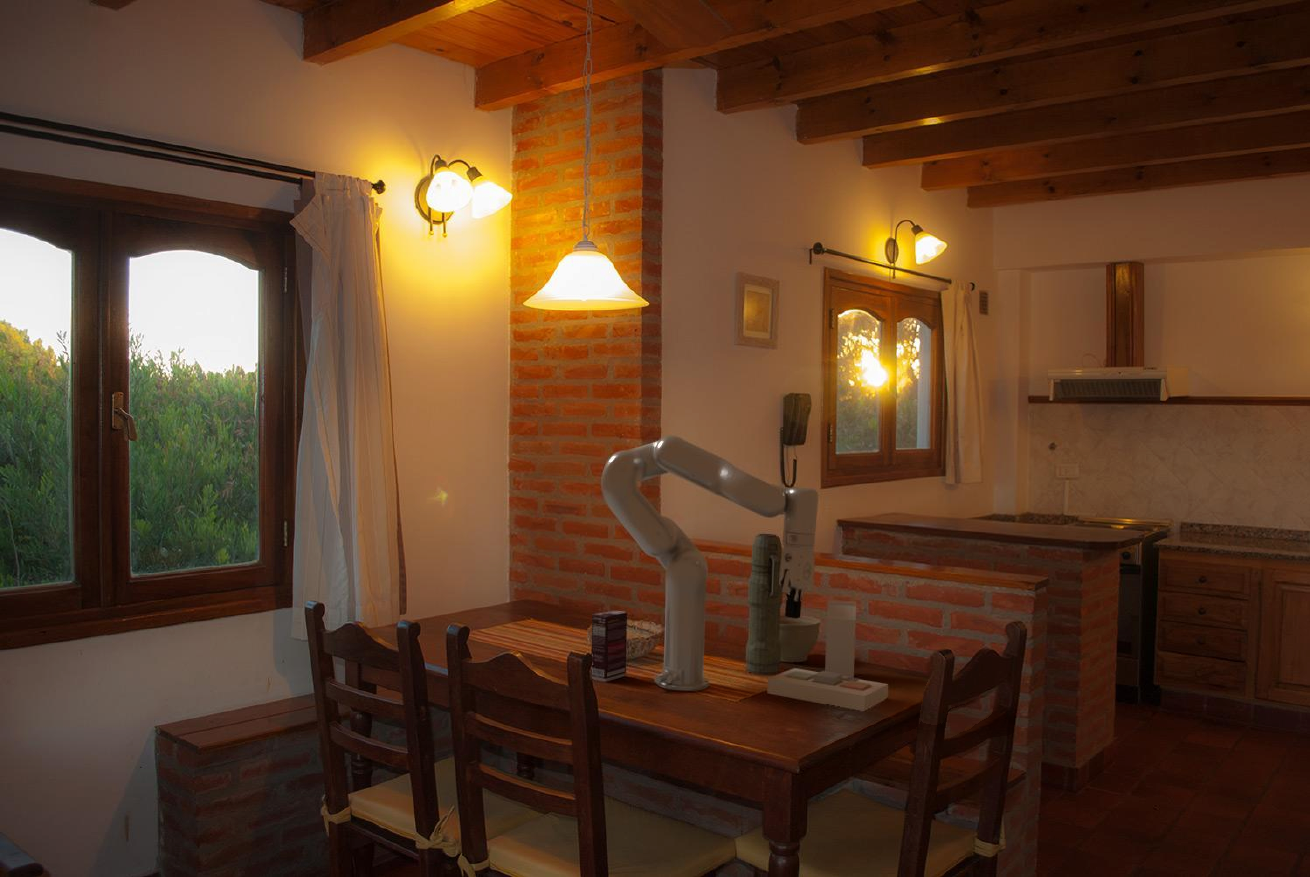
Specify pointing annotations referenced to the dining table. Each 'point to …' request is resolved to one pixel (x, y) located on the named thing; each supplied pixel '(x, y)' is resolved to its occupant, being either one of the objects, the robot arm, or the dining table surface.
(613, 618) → the supplement box
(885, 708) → the dining table surface
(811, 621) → the planter bowl
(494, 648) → the dining table surface
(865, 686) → the terracotta key
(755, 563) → the thermos
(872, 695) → the keypad
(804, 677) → the sage key
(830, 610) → the milk carton
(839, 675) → the grey key
